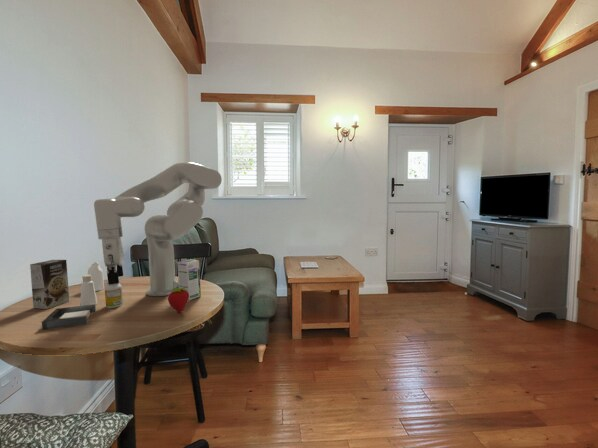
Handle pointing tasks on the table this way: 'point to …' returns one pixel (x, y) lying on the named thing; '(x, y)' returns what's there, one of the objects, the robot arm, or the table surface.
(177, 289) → the strawberry
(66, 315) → the tile
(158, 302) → the table surface
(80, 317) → the frame
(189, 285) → the syrup box
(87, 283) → the pepper shaker
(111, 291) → the supplement bottle
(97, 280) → the white tall lumpy piece
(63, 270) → the coffee box
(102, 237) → the robot arm
